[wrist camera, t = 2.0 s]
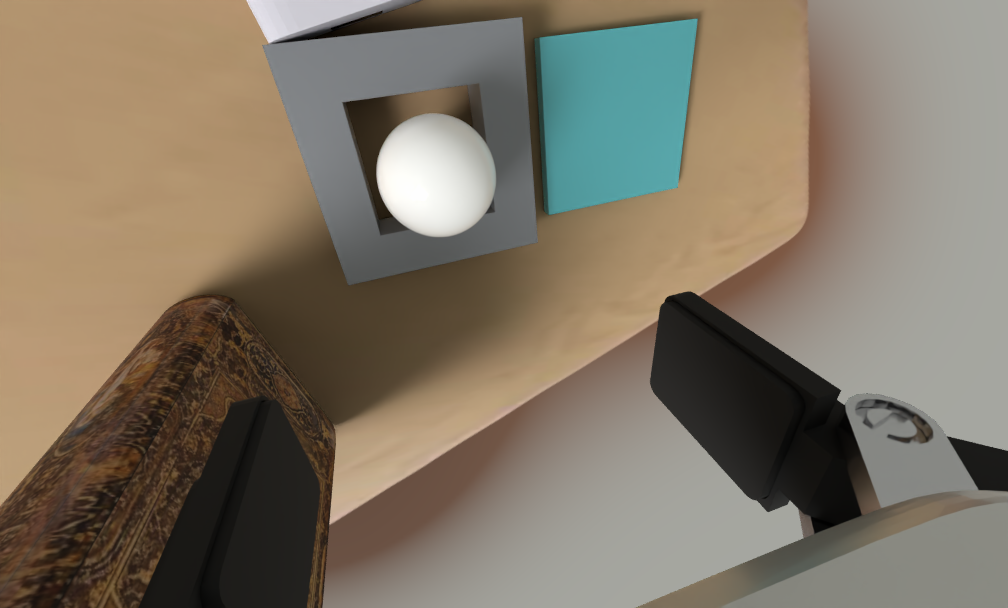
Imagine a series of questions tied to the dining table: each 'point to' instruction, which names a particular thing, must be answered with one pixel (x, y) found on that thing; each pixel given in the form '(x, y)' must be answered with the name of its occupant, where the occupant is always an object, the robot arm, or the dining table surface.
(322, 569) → the book
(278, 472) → the robot arm
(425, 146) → the lightbulb
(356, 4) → the charger
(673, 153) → the plate
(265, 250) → the dining table surface
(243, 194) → the dining table surface
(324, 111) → the frame
